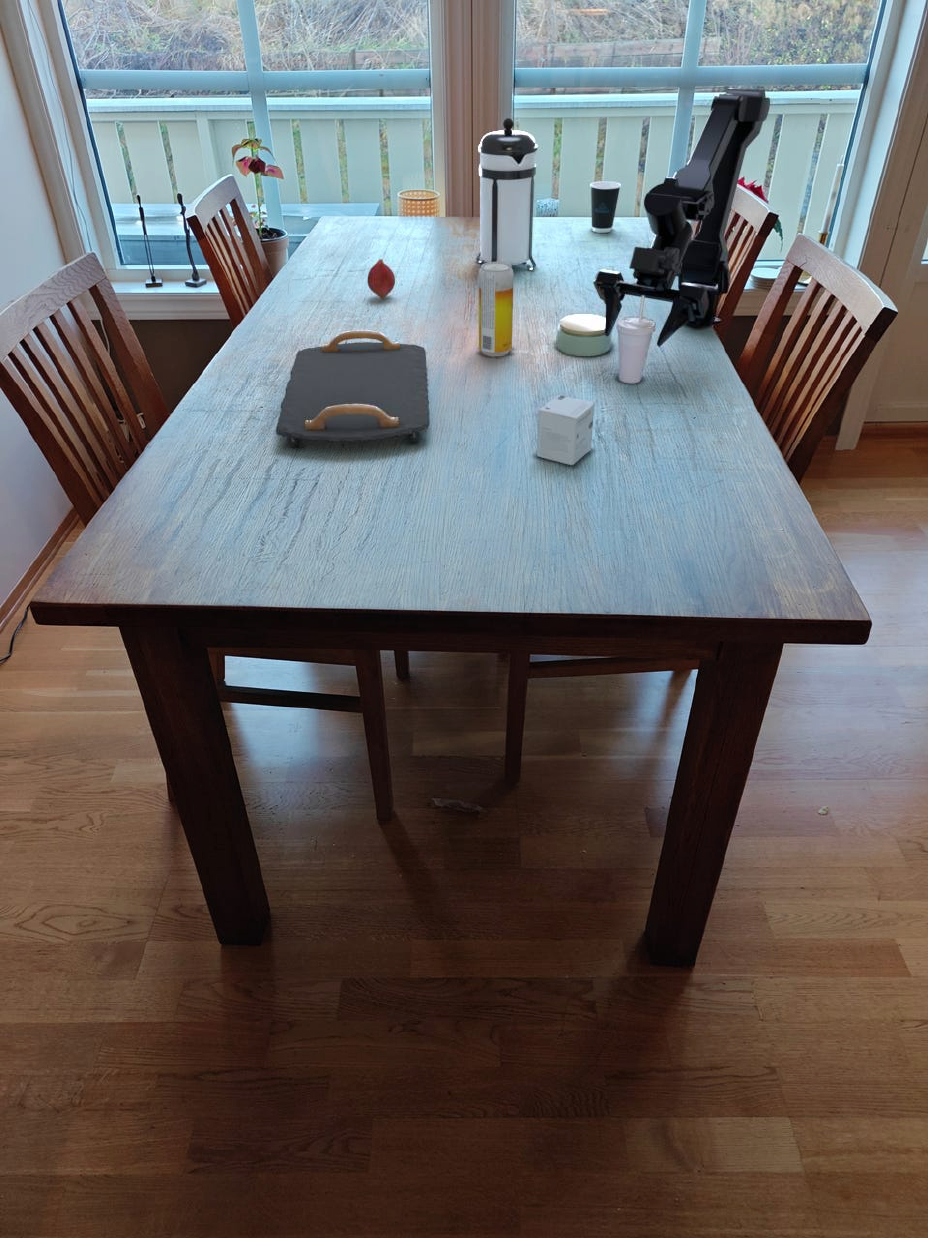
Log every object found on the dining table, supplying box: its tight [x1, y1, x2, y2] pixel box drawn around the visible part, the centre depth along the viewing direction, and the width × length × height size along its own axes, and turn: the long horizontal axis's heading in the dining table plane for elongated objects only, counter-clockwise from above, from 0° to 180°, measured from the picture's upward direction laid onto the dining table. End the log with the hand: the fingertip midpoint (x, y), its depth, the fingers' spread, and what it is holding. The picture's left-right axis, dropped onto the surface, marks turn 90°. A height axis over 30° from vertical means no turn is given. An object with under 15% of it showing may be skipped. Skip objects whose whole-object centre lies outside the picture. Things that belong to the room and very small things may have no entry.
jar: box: [555, 313, 613, 357], centre depth 154 cm, size 10×10×4 cm
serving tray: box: [275, 329, 430, 449], centre depth 135 cm, size 39×23×6 cm, turn 3°
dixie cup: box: [589, 180, 622, 234], centre depth 217 cm, size 8×8×11 cm
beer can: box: [478, 262, 515, 357], centre depth 149 cm, size 6×6×15 cm
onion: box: [367, 258, 396, 299], centre depth 176 cm, size 6×6×8 cm
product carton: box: [536, 394, 595, 466], centre depth 120 cm, size 6×6×7 cm
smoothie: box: [615, 295, 657, 384], centre depth 139 cm, size 6×6×14 cm
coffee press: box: [475, 117, 539, 271], centre depth 188 cm, size 17×16×30 cm
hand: (631, 340), depth 138 cm, fingers open, 9 cm apart
